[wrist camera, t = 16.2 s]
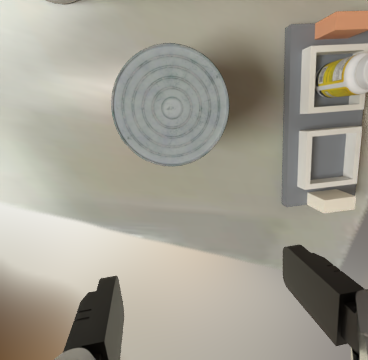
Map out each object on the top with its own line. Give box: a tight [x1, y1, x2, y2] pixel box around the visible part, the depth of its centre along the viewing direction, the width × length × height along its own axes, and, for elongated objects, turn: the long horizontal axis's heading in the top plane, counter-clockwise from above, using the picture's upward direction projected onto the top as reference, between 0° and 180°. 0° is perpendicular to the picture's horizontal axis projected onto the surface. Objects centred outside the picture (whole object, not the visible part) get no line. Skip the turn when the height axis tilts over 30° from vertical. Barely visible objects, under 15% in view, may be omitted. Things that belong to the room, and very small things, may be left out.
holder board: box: [282, 11, 368, 213], centre depth 37 cm, size 26×12×6 cm, turn 4°
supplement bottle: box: [315, 53, 368, 98], centre depth 33 cm, size 5×5×8 cm
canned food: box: [111, 43, 229, 166], centre depth 30 cm, size 11×11×12 cm
